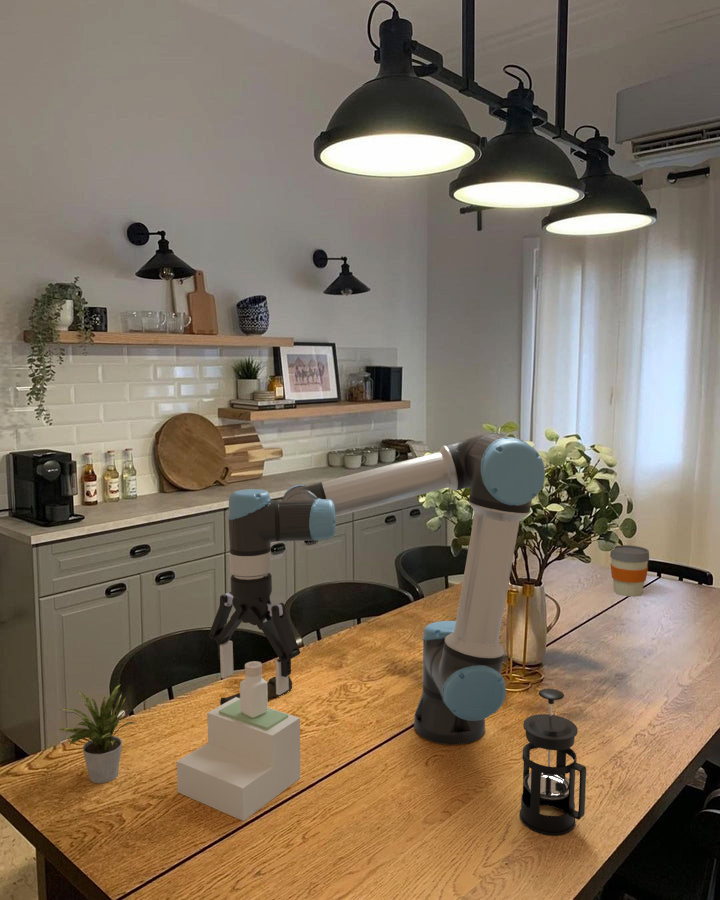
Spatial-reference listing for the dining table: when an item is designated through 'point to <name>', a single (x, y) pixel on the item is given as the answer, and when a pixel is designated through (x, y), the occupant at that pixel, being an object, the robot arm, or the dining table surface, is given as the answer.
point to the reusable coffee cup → (629, 569)
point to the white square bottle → (253, 691)
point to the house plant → (100, 738)
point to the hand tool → (270, 687)
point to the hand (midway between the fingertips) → (254, 683)
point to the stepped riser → (242, 760)
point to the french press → (551, 773)
